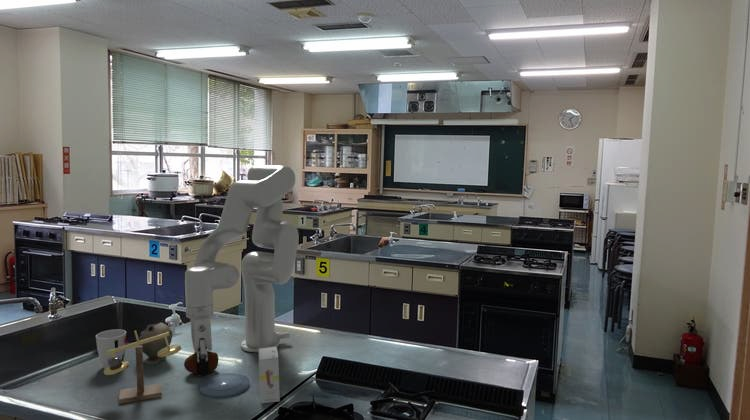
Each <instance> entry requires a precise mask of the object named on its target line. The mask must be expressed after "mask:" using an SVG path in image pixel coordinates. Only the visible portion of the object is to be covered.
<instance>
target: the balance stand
mask: <svg viewBox="0 0 750 420" xmlns="http://www.w3.org/2000/svg"><path fill="white" fill-rule="evenodd" d="M134 349H135V365H136V366H135V368H136V370H135V371H136V386H135V387H128V388H122V389H119V395H118V396H119V398H118V399H119V400H118V403H119V405H121V404H127V403H133V401H134V402H137V401H138V402H140V401H145V400H150V399H156V398H163V397H162V396H163V395H162V383H154V384H149V385H145V378H144V376H145V375H144V355H143V354H144V353H143V350H142V345H141V346H135V348H134Z"/></svg>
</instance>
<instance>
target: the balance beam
mask: <svg viewBox="0 0 750 420" xmlns="http://www.w3.org/2000/svg"><path fill="white" fill-rule="evenodd" d="M137 332H138V331H137V330H134V335H135V339H136V341H135V342H131V343H128V344H126V345H125V346H121V347H118V348H115V349H112V350H109V351H107V354H108V355H109V354H111V355H112V358H110V359H108V360H107V361H108V364H109V367H107V368H106V369H103V373H104V375H105V376H110V375H111V376H112V375H115V374H118V373H121V372H123V371H125V370H126V369H128V368H129V367H130V362H129V361H124V360H123V362H122V361H121V358H120V356H114V353H116V352H119V351H122V350H125V351H126V350H129V349H131V348H134V347H135V348H136V346H138V345H141V344H144V343H147V342H150V341H154V340H157V339H160V338H163V337H165V341H166V345H167V347H165V348H163V349H161V350H160V351H159V352H158V353H157V355H158V357H165V358H167V357H171V356H173V355H176V354H177V353H178V352H180V351H181V350H182V346H181V345H180V344H170V346H169V344H168V340H167V337H166V336H169V332H166V333H163V334H160V335H157V336H153V337H150V338H147V339H144V340H141V341H139V336H138V335H139V334H138V333H137Z"/></svg>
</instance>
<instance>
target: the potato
mask: <svg viewBox="0 0 750 420" xmlns="http://www.w3.org/2000/svg"><path fill="white" fill-rule="evenodd" d="M194 353H195V352H194ZM194 353H193V354H191V355H189V356H188V357H186V358H185V360H184V363H183V365H184V366H183V367H184V369H185V370H186V371H187V372H188V373H190V374H197V370H196V362H197V353H195V354H194ZM200 355H201V353H199V356H200ZM207 358H208V370H209V373H212V372H214V371H215V370H216V369H218V365H219V355H218V352H214V351H210V350H207Z"/></svg>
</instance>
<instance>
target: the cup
mask: <svg viewBox="0 0 750 420" xmlns="http://www.w3.org/2000/svg"><path fill="white" fill-rule="evenodd" d="M95 341H96V349H97V353H98V358H99V362H100V364H101V365H102V368H103V370H105V369H106V368H107V367H109V364H108V361H107V360H108V359H110V358H112V355H111V354H109V355H108V354H107V351H109V350H112V349H115V348H118V347H121V346H125V345H127V331H126V330H124V329H121V328H120V329H118V328H117V329H107V330H104V331H101V332H99V333H97V334H96V335H95ZM125 355H126V349H125V350H122V351H119V352H116V353H114V356H120V358H121V361H122V362H123V361H124V360H125Z"/></svg>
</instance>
